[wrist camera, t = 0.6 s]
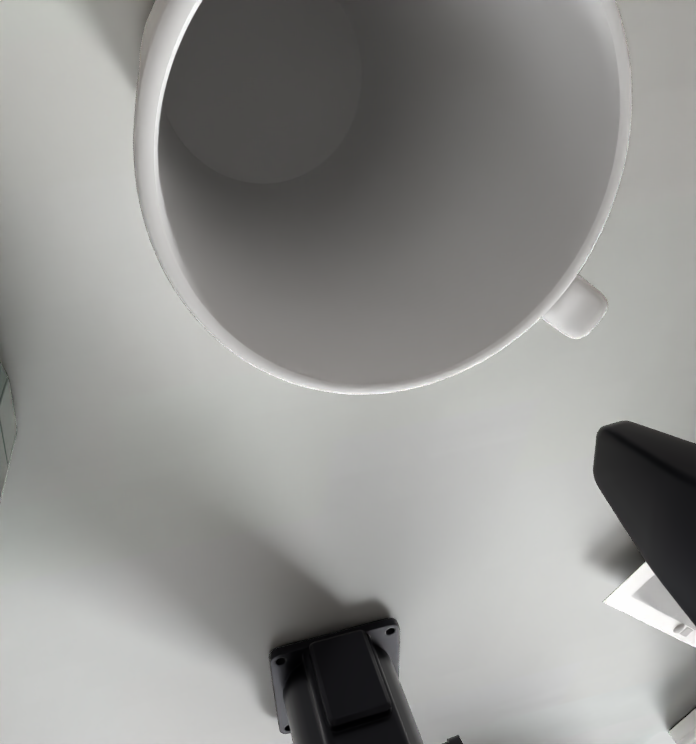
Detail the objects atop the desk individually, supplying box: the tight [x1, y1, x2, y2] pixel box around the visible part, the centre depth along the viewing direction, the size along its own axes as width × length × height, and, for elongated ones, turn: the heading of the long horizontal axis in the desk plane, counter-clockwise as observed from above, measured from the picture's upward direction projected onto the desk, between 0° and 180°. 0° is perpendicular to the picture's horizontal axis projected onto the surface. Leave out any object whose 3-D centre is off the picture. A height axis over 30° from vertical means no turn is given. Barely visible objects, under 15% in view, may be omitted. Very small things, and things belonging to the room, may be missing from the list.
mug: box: [133, 0, 632, 394], centre depth 14 cm, size 10×7×12 cm, turn 52°
